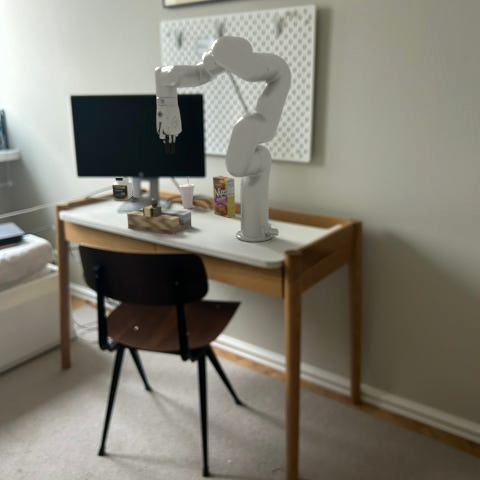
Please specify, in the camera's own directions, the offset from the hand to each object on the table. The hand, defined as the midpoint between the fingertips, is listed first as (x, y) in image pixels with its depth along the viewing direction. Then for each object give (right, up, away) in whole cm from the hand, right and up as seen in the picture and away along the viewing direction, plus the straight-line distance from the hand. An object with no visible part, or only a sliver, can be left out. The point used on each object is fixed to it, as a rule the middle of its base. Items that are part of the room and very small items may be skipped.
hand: (170, 153), depth 192 cm
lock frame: (-4, -28, -1) cm, 28 cm away
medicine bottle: (-28, -13, +47) cm, 56 cm away
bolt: (-6, -23, -6) cm, 25 cm away
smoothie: (+4, -19, +28) cm, 34 cm away
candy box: (+20, -22, +16) cm, 34 cm away
